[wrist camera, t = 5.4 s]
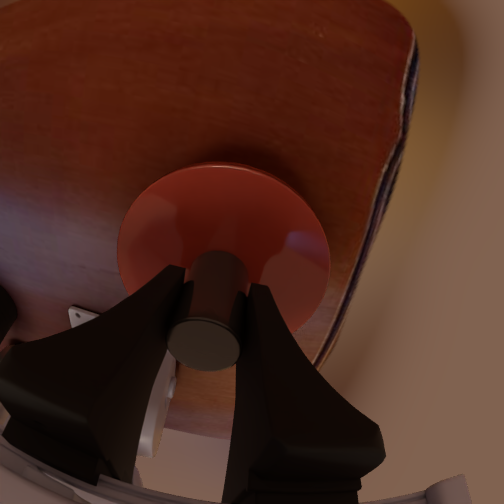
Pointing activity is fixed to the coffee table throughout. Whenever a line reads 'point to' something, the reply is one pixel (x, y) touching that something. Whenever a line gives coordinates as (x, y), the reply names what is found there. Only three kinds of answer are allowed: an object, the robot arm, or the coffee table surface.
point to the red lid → (224, 254)
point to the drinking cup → (6, 313)
